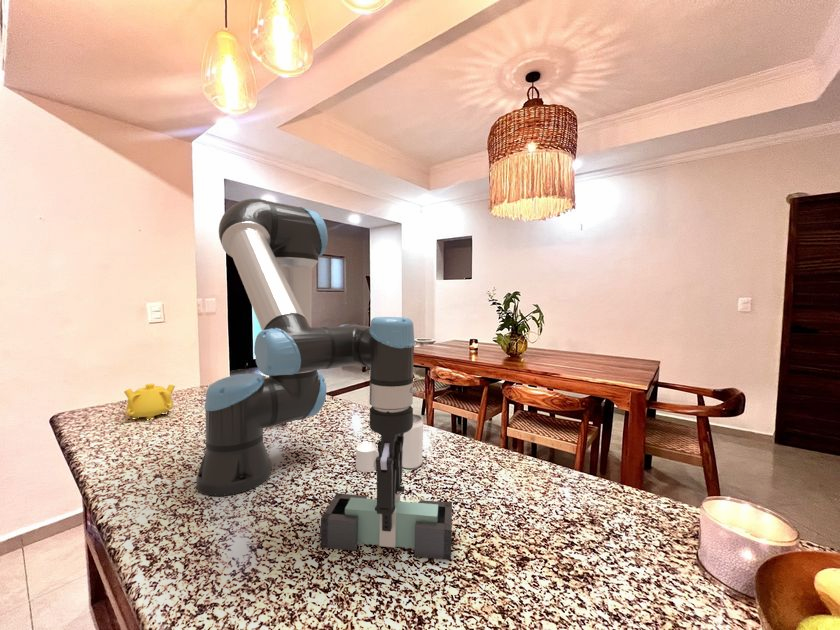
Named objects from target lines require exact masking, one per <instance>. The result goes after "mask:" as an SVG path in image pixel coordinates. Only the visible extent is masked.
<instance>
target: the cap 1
mask: <svg viewBox="0 0 840 630" xmlns="http://www.w3.org/2000/svg"><path fill="white" fill-rule="evenodd" d="M351 497H353V498H365V499H368V495H363V494H362V495H361V494H352V493H351V494H350V493H349V494H348V493H341V492H340V493H338V492H336V493H335V495H334V497H333V498H332V499H331V501H330V503H329V504H328V506H327V507H326V510H325V511H324V513H323V514H322V516H321V518H320V548H324V549H335V550H344V551H356V550H357V547H358V545H359V543H358V516H351V515H345V508H346V506H347V504H348V502H349V500H350V498H351Z"/></svg>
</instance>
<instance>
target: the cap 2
mask: <svg viewBox="0 0 840 630" xmlns="http://www.w3.org/2000/svg"><path fill="white" fill-rule="evenodd" d="M418 503H426V504H438V523H431V522H420V521H416V524H415V547H414V548H413V549H414V553H413V554H414V555H413V556H414V557H415V558H428V559H438V560H447V561H451V560H452V532H453V531H452V530H453V529H452V527H453V526H452V524H453V521H452V520H453V512H452V511H453V502H449V501H447V502H446V501H436V500H435V501H434V500H427V499H426V500H424V499H419V502H418Z"/></svg>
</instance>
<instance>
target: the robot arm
mask: <svg viewBox="0 0 840 630" xmlns="http://www.w3.org/2000/svg"><path fill="white" fill-rule="evenodd" d="M218 236H219V237H218V238H219V241H220V243H221V246H222V249H223V251H224V252H225V253H226V255H228V256H230V257H231V258H232V259H233V263H234V265H235V267H236V270H237V272H238V275H239V278H240V280H241V282H242V285H243V286H244V290H245V292H246V294H247V297H248V299H249V302H250V304H251V306H252V309H253V312H254V314H255V317H256V319H257V321H258V324H259V327H260V330H261V331H260V332H258V334H257V335H256V336H255V337H256V338H255V339H254V340H255V342H254V346H253V348H254V356H255V364H256V366H257V368H258V370H259V371H260V373H255V372H249V373H239V374H234V375H230V376H226V377H223V378H221V379H218V380H216V381H214V382H212V383H211V384H210V385H208V388H207V389H206V392H205V403H204V410H205V451H204V455H203V457H202V460H201V464H200V466H199V469H198V472H197V474H196V489H197V490H198V491H199V492H200V493H202V494H204V495H206V496H207V495H208V496H215V497H216V496H219V497H220V496H221V497H222V496H230V495H236V494H240V493H243V492H247V491H249V490H251V489H254V488H257V487H258V486H260V485H261V484H263V483H264V482H266V480H268V479H269V478H270V476H271V474H272V462H271V459H270V457H269V454H268V453H269V452H268V450H267V448H266V445H265V443H264V429H265V428H269V427H270V428H271V427H273V426H278V425H282V424H287V423H290V422H295V421H302V420H305V419H307V418H311V417H313V416H317V414H319V412H320V411H321V410H322V409H323V407H324V404H325V402H326V398H327V383H326V382H325V381H326V379H325V376H324V375H323V373H321V372H320V371H318V370H330V369H336V368H343V367H350V366H361V367H366V368H369V373H370V374H369V375H370V376H369V405H370V406H371V407H370V408H369V428H370V430H371V431H372V432H374V433H377V434H378V435H380V436H381V437H380V440H378V441H377V450H378V452H379V457H376V460H375V462H376V469H375V470H376V499H377V505H376V507H375V511H377V514H380V538H379V545H378V546H379V547H386V548H396V547H395V546H396V507H395V501H401V493H405V486H402V485H401V484H402V482H403V468H402V455H403V443H404V436H403V435H404V433H406V432H408V431H409V430H411V428H412V426H413V414H414V408H413V407H412V405H413V403H414V402H413V401H414V394H416V393H417V392H418V391H417V388H416V387H415V386H414V387H413V385H414V366H415V365H414V361H415V360H414V357H415V354H414V353H415V344H416V343H415V342H416V340H415V331H414V330H415V329H414V328H415V327H414V322H413V321H412V319H411V318H409V317H405V316H403V317H402V316H377V317H376V316H375V317H373V318H371V320H370V326H369V325H368V326H366V325H360V324H357V323H352V324H351V323H349V324H348V323H345V324H340V325H339V326H338V325H337V326H319V327H318V326H317V327H316V326H312V303H313V302H312V299H313V298H312V296H313V295H312V294H313V292H312V287H313V286H312V285H313V283H312V282H313V281H312V280H313V278H312V277H313V274H312V272H313V268H314V267H315V266H316V265H317V264H318V263H319V262H318V261H319V257H321V256H323V255H324V254H325V252H326V251H327V250H326V249H327V248H326V247H327V246H328V240H329V239H328V238H329V236H328V229H327V225H326V222H325V220H324V218H322V216H321V215H320V214H319V213H318V212H317V211H315V210H311V209H307V208H305V207H301V206H294V205H289V204H285V203H279V202H273V201H269V200H265V199H261V198H248V199H244V200H240V201H238V202H236V203H234V204H233V205H231V206H230V207H228V209H227V210H226V211H225V212H224V214H223V215H222V217H221V219H220V221H219V226H218ZM261 373H262V374H261ZM264 375H265V376H268V377H265V378H264V377H263V376H264Z"/></svg>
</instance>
